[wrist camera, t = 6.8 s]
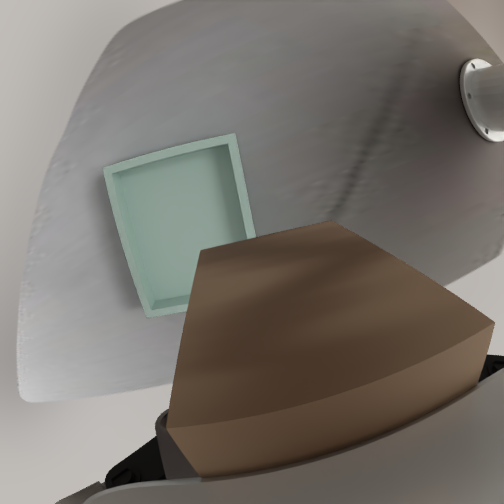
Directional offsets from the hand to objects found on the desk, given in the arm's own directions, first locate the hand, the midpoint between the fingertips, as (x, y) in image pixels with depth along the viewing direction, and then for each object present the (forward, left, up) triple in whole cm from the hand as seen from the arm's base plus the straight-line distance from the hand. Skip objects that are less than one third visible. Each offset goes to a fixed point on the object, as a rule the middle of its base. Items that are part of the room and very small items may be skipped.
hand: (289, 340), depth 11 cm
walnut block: (0, 0, -1) cm, 1 cm away
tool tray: (+6, -2, -20) cm, 21 cm away
